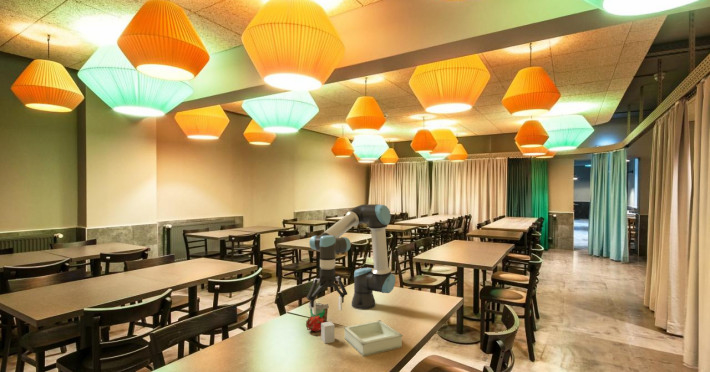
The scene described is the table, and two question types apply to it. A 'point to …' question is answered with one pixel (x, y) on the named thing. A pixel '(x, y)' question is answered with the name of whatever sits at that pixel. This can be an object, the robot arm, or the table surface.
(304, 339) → the table surface
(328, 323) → the stone block
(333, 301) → the table surface
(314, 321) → the dragon fruit
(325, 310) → the food container
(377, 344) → the bin
